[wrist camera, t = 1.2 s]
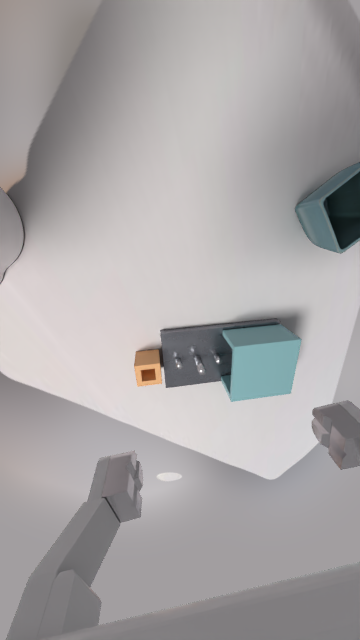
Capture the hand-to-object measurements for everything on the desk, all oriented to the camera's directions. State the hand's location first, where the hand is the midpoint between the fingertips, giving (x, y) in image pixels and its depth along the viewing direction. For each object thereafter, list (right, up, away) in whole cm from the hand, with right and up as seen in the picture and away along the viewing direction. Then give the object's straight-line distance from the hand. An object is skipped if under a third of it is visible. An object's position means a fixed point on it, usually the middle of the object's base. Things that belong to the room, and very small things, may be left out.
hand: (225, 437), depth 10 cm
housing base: (+6, -2, +36) cm, 36 cm away
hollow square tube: (-9, -3, +34) cm, 36 cm away
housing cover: (+12, -2, +35) cm, 37 cm away
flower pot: (+21, +24, +27) cm, 42 cm away
